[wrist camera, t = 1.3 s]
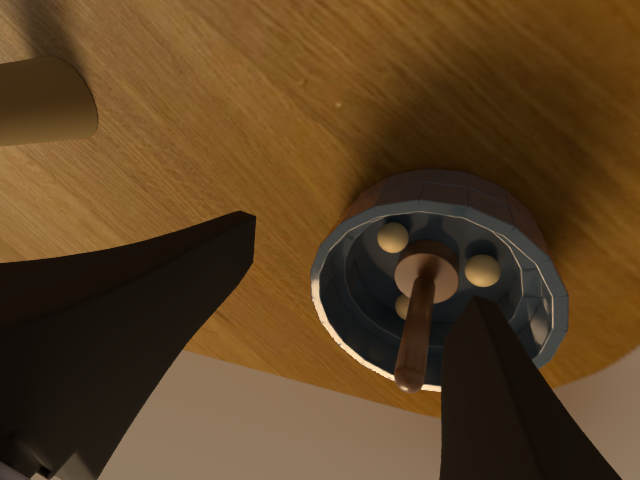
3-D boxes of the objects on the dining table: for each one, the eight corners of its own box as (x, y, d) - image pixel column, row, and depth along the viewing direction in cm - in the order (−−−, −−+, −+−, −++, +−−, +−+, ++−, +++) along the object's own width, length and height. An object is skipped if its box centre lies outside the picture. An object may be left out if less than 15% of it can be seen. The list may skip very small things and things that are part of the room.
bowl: (545, 335, 19) (566, 408, 16) (362, 327, 25) (343, 379, 21) (542, 142, 15) (572, 176, 11) (316, 186, 20) (280, 219, 16)
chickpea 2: (426, 308, 21) (424, 327, 20) (400, 308, 22) (395, 326, 20) (422, 286, 20) (419, 304, 19) (395, 287, 21) (390, 304, 20)
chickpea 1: (413, 241, 19) (409, 257, 18) (384, 244, 20) (378, 259, 18) (407, 215, 18) (402, 229, 17) (378, 219, 19) (371, 232, 18)
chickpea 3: (500, 273, 18) (503, 293, 17) (466, 275, 19) (466, 293, 17) (498, 247, 17) (501, 264, 16) (462, 249, 18) (462, 266, 17)
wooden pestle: (462, 287, 19) (462, 427, 12) (404, 288, 21) (373, 411, 14) (455, 236, 18) (449, 361, 11) (393, 242, 20) (352, 353, 12)
